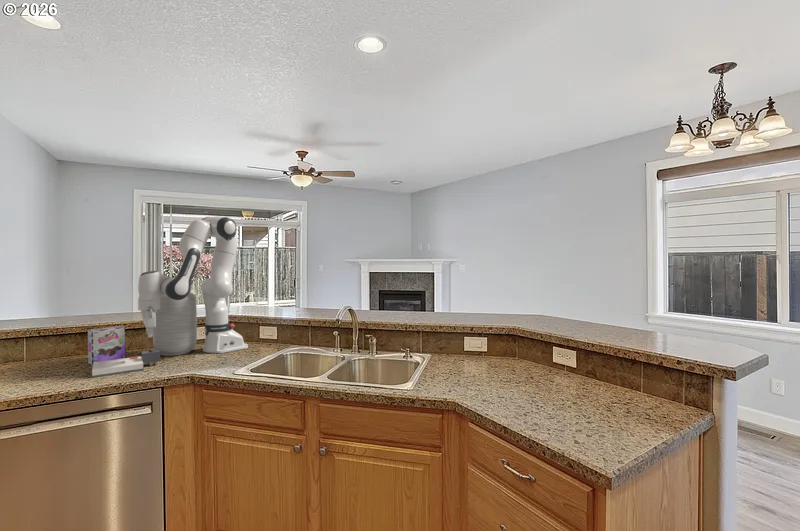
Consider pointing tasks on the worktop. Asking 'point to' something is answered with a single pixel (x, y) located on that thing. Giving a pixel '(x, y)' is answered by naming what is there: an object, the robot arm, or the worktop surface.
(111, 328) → the candy box
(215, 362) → the worktop surface
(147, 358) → the plug
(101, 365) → the socket
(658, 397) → the worktop surface
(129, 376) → the worktop surface
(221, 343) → the robot arm
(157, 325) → the vase
